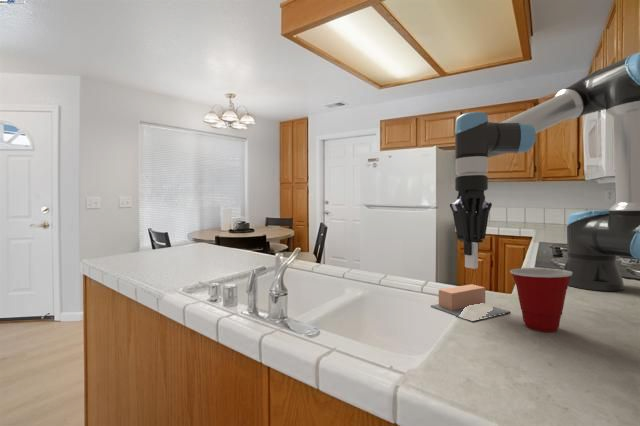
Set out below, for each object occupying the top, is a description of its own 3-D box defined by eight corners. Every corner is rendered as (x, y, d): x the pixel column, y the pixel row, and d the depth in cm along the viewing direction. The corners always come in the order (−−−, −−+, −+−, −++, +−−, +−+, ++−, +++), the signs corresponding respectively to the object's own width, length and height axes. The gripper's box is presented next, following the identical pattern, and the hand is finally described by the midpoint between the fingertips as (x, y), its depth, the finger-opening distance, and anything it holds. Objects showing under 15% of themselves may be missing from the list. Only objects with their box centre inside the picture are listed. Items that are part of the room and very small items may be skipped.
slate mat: (466, 300, 87) (466, 298, 87) (510, 313, 77) (510, 311, 77) (430, 307, 82) (430, 305, 82) (471, 322, 71) (472, 320, 71)
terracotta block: (471, 284, 87) (438, 289, 81) (485, 287, 83) (451, 293, 78) (471, 299, 87) (438, 305, 81) (485, 303, 83) (451, 310, 78)
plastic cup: (530, 315, 75) (530, 263, 75) (584, 331, 65) (584, 271, 65) (497, 322, 71) (497, 267, 70) (550, 341, 61) (550, 276, 60)
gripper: (475, 177, 89) (475, 263, 90) (441, 175, 84) (441, 267, 84) (501, 175, 83) (501, 267, 83) (465, 173, 77) (465, 272, 77)
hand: (471, 267), depth 84 cm, fingers closed
